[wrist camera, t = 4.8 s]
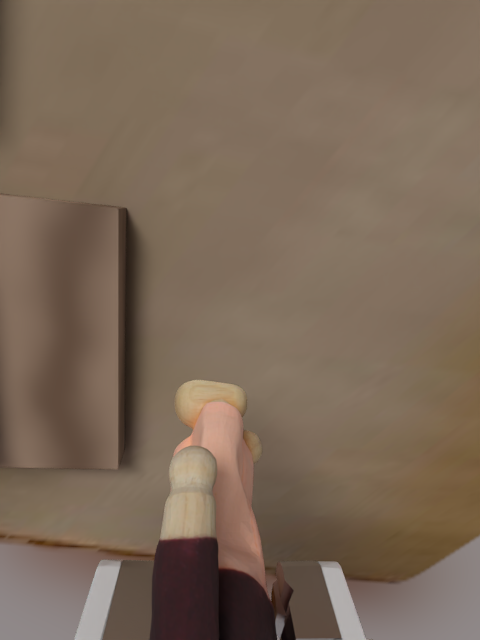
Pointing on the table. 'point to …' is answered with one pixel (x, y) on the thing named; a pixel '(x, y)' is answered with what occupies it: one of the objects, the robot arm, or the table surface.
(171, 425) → the table surface
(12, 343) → the display stand
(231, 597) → the grandmother figurine
